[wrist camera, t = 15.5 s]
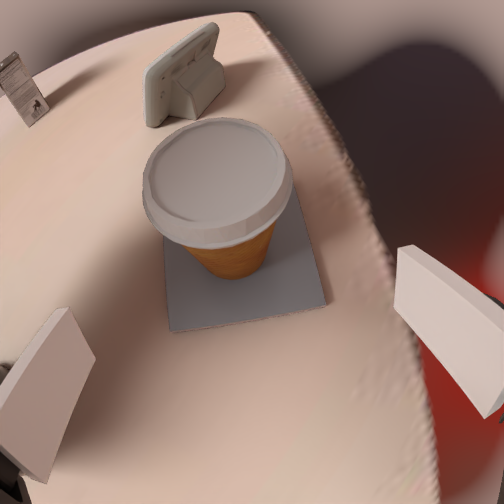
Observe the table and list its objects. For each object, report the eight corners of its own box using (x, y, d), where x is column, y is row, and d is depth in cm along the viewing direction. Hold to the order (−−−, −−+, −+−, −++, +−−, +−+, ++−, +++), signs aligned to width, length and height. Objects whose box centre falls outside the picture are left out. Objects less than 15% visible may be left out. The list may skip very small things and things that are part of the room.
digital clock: (204, 69, 42) (194, 18, 32) (246, 81, 40) (241, 23, 30) (133, 123, 37) (108, 68, 28) (173, 142, 35) (150, 77, 25)
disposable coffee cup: (261, 192, 30) (257, 99, 19) (300, 274, 26) (323, 201, 15) (173, 224, 29) (128, 142, 18) (200, 312, 25) (150, 264, 14)
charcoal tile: (173, 332, 25) (169, 331, 24) (165, 204, 31) (162, 199, 30) (324, 307, 26) (326, 304, 25) (290, 182, 31) (291, 176, 30)
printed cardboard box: (22, 116, 44) (-9, 70, 30) (43, 98, 46) (14, 50, 31) (28, 128, 42) (-8, 76, 27) (51, 108, 43) (18, 53, 28)
